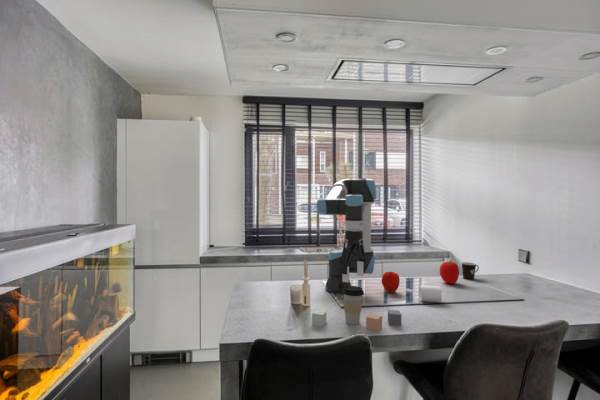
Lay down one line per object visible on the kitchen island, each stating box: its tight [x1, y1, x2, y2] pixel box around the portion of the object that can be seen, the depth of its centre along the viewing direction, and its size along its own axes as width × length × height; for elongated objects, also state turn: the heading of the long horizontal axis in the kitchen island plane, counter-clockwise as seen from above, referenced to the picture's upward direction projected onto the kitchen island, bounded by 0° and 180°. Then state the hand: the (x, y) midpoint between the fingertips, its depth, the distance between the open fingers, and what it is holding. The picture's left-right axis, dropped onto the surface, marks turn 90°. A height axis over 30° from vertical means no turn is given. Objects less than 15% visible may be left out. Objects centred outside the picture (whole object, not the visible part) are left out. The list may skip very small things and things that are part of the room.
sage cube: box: [311, 309, 327, 327], centre depth 149 cm, size 5×5×5 cm
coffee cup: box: [341, 285, 365, 326], centre depth 151 cm, size 9×9×15 cm
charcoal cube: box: [387, 309, 402, 327], centre depth 150 cm, size 5×5×5 cm
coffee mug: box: [461, 262, 480, 281], centre depth 230 cm, size 12×9×10 cm
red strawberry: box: [439, 260, 460, 285], centre depth 218 cm, size 13×11×14 cm
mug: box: [418, 285, 443, 303], centre depth 183 cm, size 12×10×8 cm
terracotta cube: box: [365, 313, 383, 332], centre depth 145 cm, size 5×5×5 cm
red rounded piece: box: [381, 271, 401, 294], centre depth 197 cm, size 10×10×12 cm
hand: (353, 278), depth 150 cm, fingers open, 13 cm apart
